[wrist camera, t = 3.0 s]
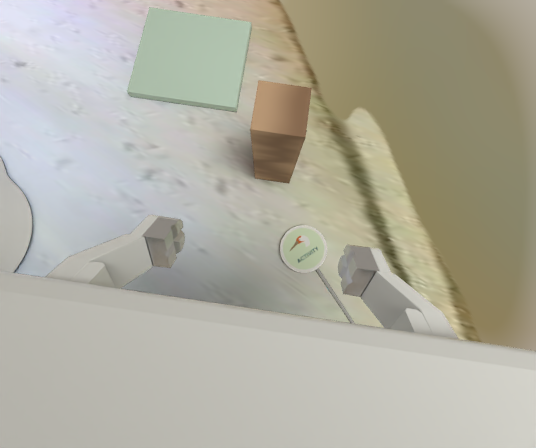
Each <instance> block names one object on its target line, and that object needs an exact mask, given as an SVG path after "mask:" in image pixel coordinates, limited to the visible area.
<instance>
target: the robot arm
mask: <svg viewBox="0 0 536 448" xmlns="http://www.w3.org/2000/svg"><path fill="white" fill-rule="evenodd" d="M182 228H183V223H182V220H180V219H175V218H169V217H163V216H156V215H148V216H147V217H146V218H145V219H144V220H143V221H142V222H141V223H140V224H139V225H138V226H137V227H136V228H135V229H134V230H133V232H132V233H131V234H125V235H123V236H120V237H118V238H115V239H113V240H110V241H107V242H105V243H102V244H100V245H97V246H95V247H92V248H90V249H87V250H84V251H82V252H79V253H77V254H74V255H72V256H69V257H68V258H67V259H65V260H64V261H63V262H62V263H61V264H60V265H58V266H57V267H56V268H55V269H54V270H53V271H51V272H50V273H49V274H48V275H47V276H46V277H39V276H32V275H25V274H19V273H13V272H14V271H15V270H16V268H17V267H18V265H19V264H20V262H21V261H22V259H23V257H24V255H25V253H26V251H27V248H28V246H29V242H30V239H31V233H32V214H31V210H30V206H29V203H28V201H27V199H26V197H25V195H24V194H23V192H22V191H21V190H20V188H19V187H18V186H17V185H16V184H15V183H14V182H13V181H12V180H11V179H10V178H9V177H8V175H7V173H6V170H5V166H4V163H3V161H2V159H1V157H0V448H536V351H534V350H527V349H521V348H514V347H507V346H500V345H493V344H487V343H480V342H474V341H467V340H460V339H458V337H457V336H456V334H455V332H454V331H453V329H452V327H451V326H450V324H449V322H448V321H447V319H446V317H445V316H444V314H443V313H442V312H441V311H440V310H439V309H437V308H436V307H435V306H434V305H432V304H431V303H430V302H429V301H428V300H426V299H425V298H424V297H423V296H421V295H420V294H419V293H418V292H416V291H415V290H414V289H413V288H411V287H410V286H409V285H408V284H407V283H405V282H404V281H403V280H402V279H400V278H399V277H398V276H397V275H395V274H392V273H391V271H390V269H389V267H388V265H387V263H386V261H385V259H384V257H383V255H382V253H381V250H380V249H378V248H372V247H362V246H355V245H348V244H347V245H346V246H345V248H344V255H343V256H341V257H340V260H339V264H338V273H339V276H340V277H341V278H342V281H341V287H342V291H343V294H347V295H353V296H358V297H361V299H362V300H363V301H364V303H365V304H366V305H367V306H368V308H369V309H370V310H371V311H372V313H373V314H374V315H375V316H376V318H377V319H378V320H379V321H380V323H381V324H382V325H383V326H384V328H380V327H373V326H367V325H360V324H353V323H347V322H340V321H333V320H327V319H320V318H313V317H306V316H300V315H293V314H286V313H280V312H273V311H266V310H260V309H253V308H246V307H240V306H233V305H226V304H220V303H213V302H206V301H199V300H193V299H186V298H179V297H173V296H166V295H159V294H153V293H146V292H139V291H133V290H126V289H120V288H122V287H123V286H125V285H126V284H128V283H129V282H131V281H132V280H134V279H135V278H137V277H138V276H140V275H141V274H143V273H144V272H146V271H147V270H149V269H150V268H152V267H153V266H158V267H166V268H171V267H172V265H173V263H174V262H175V260H176V258H177V257H176V254H177V253H179V252H181V250H182V248H183V245H184V241H185V236H184V233H183V232H182V231H181V229H182Z"/></svg>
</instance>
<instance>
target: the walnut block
mask: <svg viewBox="0 0 536 448" xmlns="http://www.w3.org/2000/svg"><path fill="white" fill-rule="evenodd" d="M311 89H312V88H307V87H301V86H294V85H287V84H280V83H273V82H266V81H260V80H259V81H258V87H257V93H256V99H255V105H254V111H253V117H252V122H251V128H250V131H251V141H252V152H253V162H254V172H255V178H256V179H263V180H270V181H277V182H283V183H289V182H290V179H291V176H292V173H293V171H294V168H295V165H296V162H297V159H298V157H299V154H300V151H301V148H302V145H303V142H304V140H305V136H306V128H307V120H308V112H309V104H310V96H311Z"/></svg>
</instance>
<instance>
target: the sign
mask: <svg viewBox="0 0 536 448" xmlns="http://www.w3.org/2000/svg"><path fill="white" fill-rule="evenodd" d="M280 255H281V258H282V260H283V261H284V263H285V264H286V265H287V266H288V267H289V268H290V269H292V270H294V271H296V272H300V273H308V272H312V271H314V270H316V272H317V273H318V275H319V276H320V278H321V279H322V281H323V282H324V284H325V285H326V287H327V288H328V290H329V291H330V293H331V294H332V296H333V297H334V299H335V300H336V302H337V303H338V305H339V306H340V308H341V309H342V311H343V312H344V314H345V315H346V317H347V318H348V320H349V321H350V323H353V324H355V323H354V321H353V320H352V318H351V317H350V315H349V314H348V312H347V311H346V309H345V308H344V306H343V305H342V303H341V302H340V300H339V299H338V297H337V296H336V294H335V293H334V291H333V290H332V288H331V287H330V285H329V284H328V282H327V281H326V279H325V278H324V276H323V275H322V273H321V271H320V270H319V267H320V266H321V265H322V264H323V262H324V261H325V259H326V255H327V244H326V241H325V238H324V237H323V235H322V234H321V233H320V232H319V231H318V230H317V229H315V228H313V227H311V226H307V225H300V226H296V227H293V228H291V229H290V230H288V231H287V232H286V233H285V235H284V236H283V238H282V240H281V243H280Z"/></svg>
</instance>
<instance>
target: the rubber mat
mask: <svg viewBox="0 0 536 448" xmlns="http://www.w3.org/2000/svg"><path fill="white" fill-rule="evenodd" d="M251 29H252V27H251V22H246V21H239V20H232V19H225V18H219V17H212V16H205V15H198V14H191V13H185V12H178V11H171V10H164V9H158V8H151V7H149V11H148V15H147V19H146V22H145V26H144V30H143V34H142V37H141V41H140V45H139V49H138V52H137V56H136V60H135V64H134V67H133V71H132V75H131V79H130V82H129V86H128V90H127V92H128V94H129V95H130V96H131V97H137V98H144V99H151V100H158V101H165V102H172V103H178V104H185V105H192V106H199V107H206V108H213V109H219V110H226V111H233V112H237V107H238V101H239V96H240V90H241V85H242V79H243V74H244V68H245V63H246V57H247V52H248V46H249V40H250V35H251Z"/></svg>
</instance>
